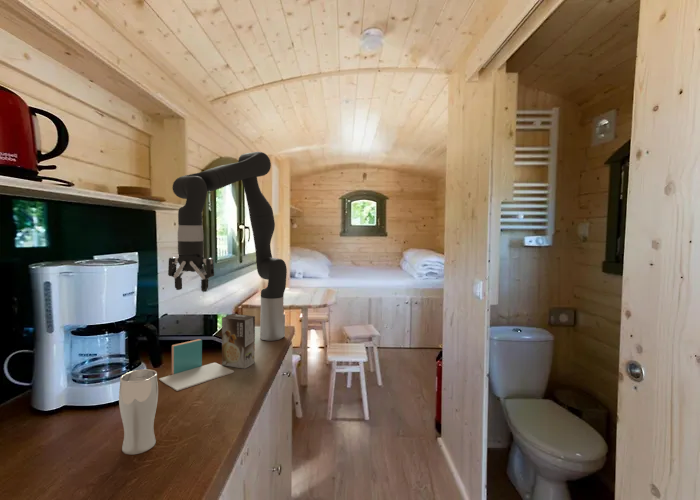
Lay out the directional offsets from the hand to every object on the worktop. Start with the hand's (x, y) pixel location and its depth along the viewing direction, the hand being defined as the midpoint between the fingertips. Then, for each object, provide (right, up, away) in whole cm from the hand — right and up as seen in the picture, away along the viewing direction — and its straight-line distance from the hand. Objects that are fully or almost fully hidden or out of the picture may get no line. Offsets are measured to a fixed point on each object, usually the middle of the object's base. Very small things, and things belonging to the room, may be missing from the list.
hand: (191, 290), depth 117 cm
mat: (+5, -26, -6) cm, 27 cm away
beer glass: (+7, -28, -41) cm, 51 cm away
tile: (-1, -25, -2) cm, 25 cm away
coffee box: (+14, -26, +5) cm, 29 cm away
